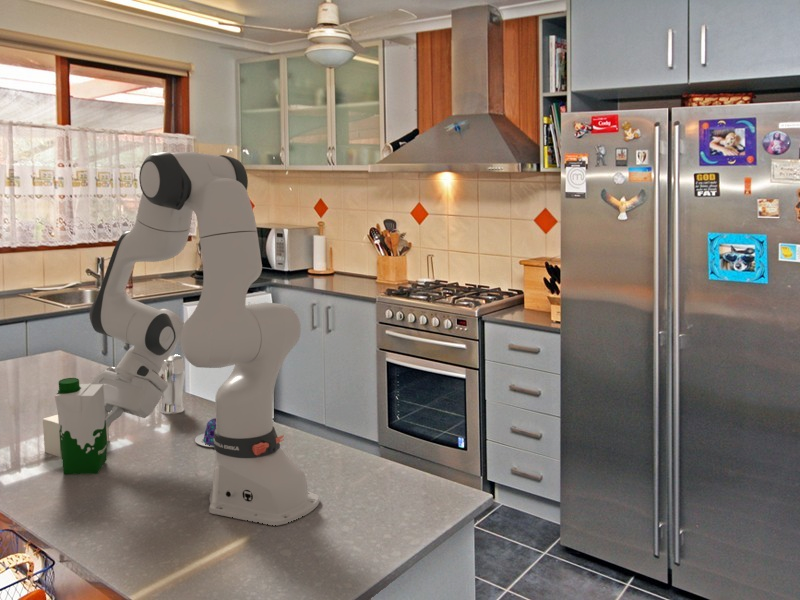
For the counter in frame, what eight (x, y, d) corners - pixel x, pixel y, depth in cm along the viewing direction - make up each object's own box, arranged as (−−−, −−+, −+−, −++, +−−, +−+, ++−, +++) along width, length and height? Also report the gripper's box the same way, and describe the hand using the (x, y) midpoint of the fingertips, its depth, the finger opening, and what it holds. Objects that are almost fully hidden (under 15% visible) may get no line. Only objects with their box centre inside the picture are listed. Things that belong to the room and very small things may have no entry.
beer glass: (154, 414, 201) (152, 360, 198) (166, 406, 207) (164, 354, 205) (178, 415, 199) (176, 361, 197) (190, 408, 206) (188, 355, 204)
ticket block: (110, 441, 180) (108, 408, 178) (61, 457, 169) (59, 422, 167) (93, 436, 183) (91, 403, 182) (44, 451, 172) (42, 417, 171)
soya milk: (70, 459, 167) (64, 374, 162) (112, 458, 168) (106, 373, 163) (57, 476, 158) (49, 387, 154) (101, 475, 159) (95, 386, 155)
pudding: (208, 453, 174) (207, 432, 173) (186, 439, 183) (186, 419, 182) (254, 442, 181) (253, 422, 180) (231, 429, 190) (230, 410, 190)
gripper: (98, 358, 175) (63, 409, 169) (156, 372, 164) (121, 427, 158) (115, 372, 180) (82, 422, 173) (173, 387, 169) (139, 441, 163)
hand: (101, 424), depth 166 cm, fingers closed
